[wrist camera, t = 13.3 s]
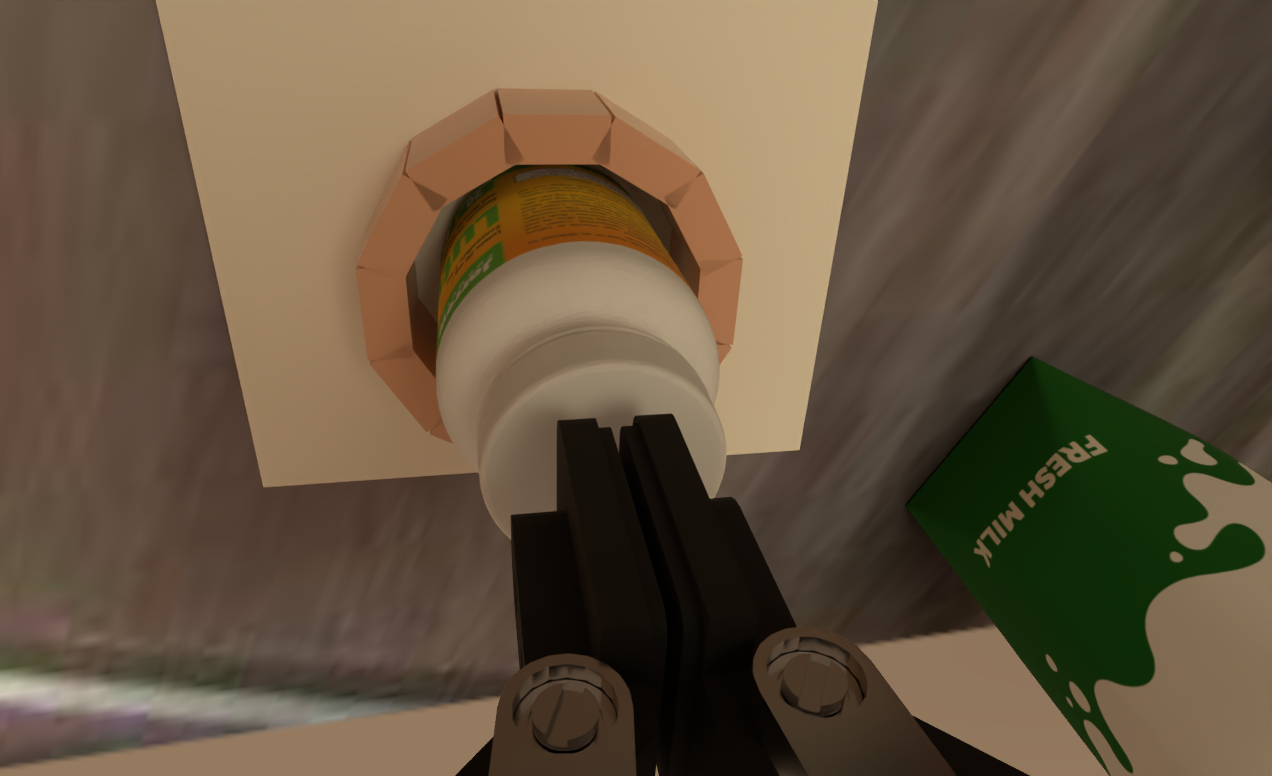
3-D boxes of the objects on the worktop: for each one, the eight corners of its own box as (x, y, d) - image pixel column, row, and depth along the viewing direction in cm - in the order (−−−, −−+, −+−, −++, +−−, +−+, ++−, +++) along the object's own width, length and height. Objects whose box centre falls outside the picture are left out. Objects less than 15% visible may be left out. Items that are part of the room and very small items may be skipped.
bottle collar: (353, 85, 18) (335, 112, 16) (721, 91, 20) (759, 117, 17) (391, 412, 22) (383, 476, 20) (692, 396, 24) (720, 452, 21)
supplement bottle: (459, 129, 19) (461, 289, 11) (673, 177, 21) (818, 348, 12) (426, 333, 21) (408, 591, 13) (620, 362, 23) (713, 610, 15)
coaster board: (171, -35, 18) (148, -32, 16) (852, -7, 21) (878, -2, 19) (273, 457, 24) (263, 487, 23) (783, 425, 27) (799, 449, 26)
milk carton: (1026, 582, 33) (1617, 1267, 16) (868, 514, 30) (1415, 1301, 13) (1185, 417, 30) (2107, 1045, 13) (1030, 319, 27) (2023, 1009, 10)
